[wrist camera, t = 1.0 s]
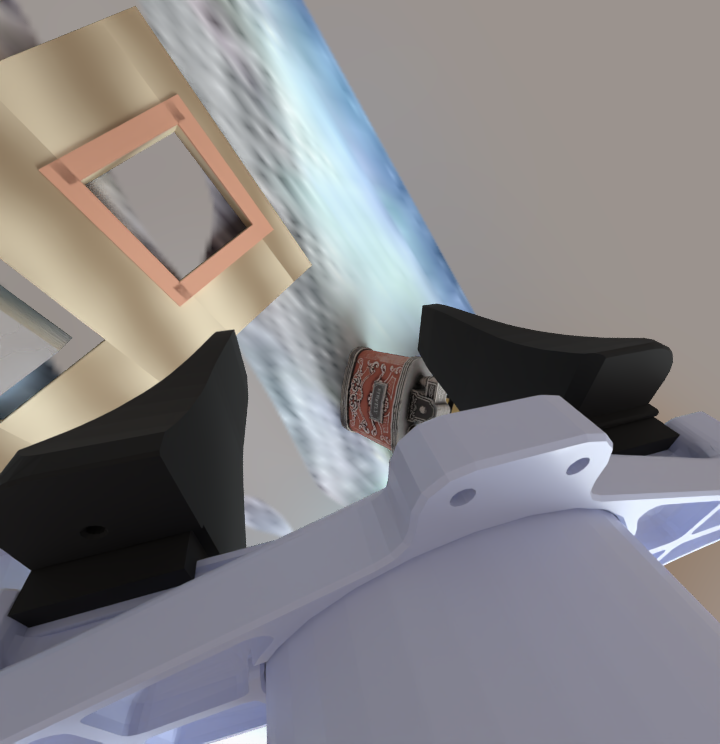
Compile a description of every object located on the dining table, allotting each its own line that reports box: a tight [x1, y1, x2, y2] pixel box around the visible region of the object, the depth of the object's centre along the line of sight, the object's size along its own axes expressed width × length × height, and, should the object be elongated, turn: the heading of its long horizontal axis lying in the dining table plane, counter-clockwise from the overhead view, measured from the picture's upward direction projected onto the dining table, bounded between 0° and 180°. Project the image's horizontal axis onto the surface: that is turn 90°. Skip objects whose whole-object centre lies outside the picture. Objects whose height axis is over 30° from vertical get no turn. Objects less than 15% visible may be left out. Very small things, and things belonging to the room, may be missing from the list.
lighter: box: [341, 347, 450, 452], centre depth 26 cm, size 8×3×10 cm, turn 171°
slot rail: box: [0, 6, 312, 473], centre depth 17 cm, size 21×15×1 cm
